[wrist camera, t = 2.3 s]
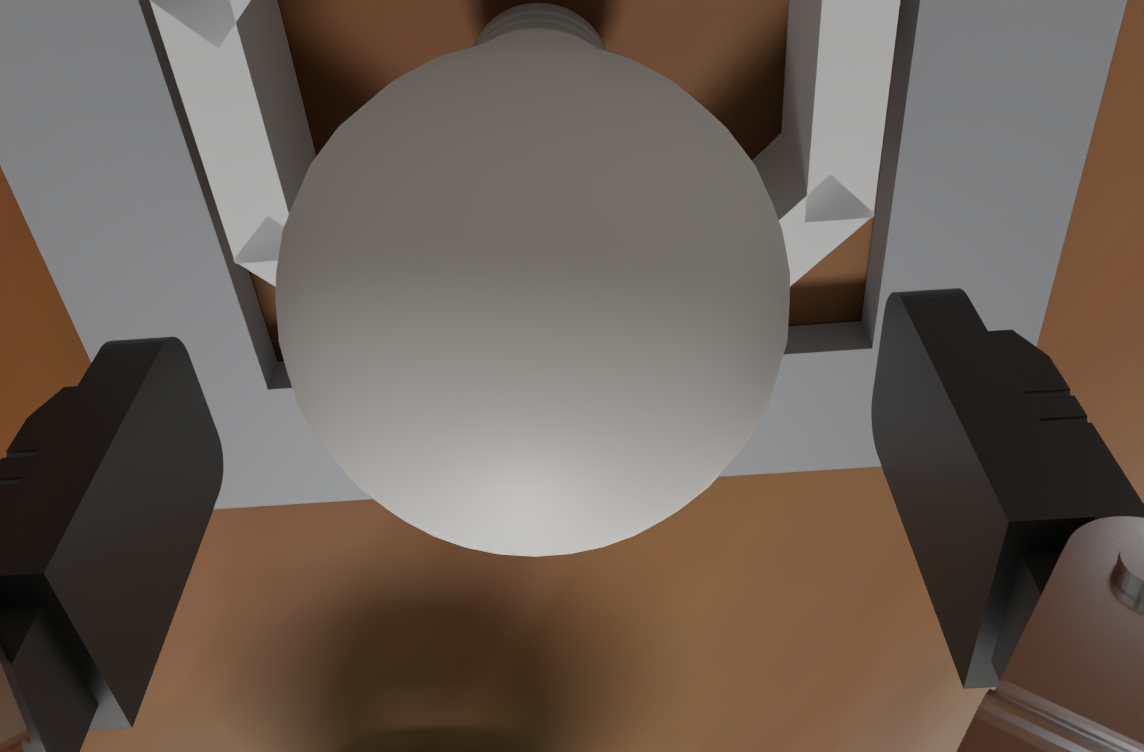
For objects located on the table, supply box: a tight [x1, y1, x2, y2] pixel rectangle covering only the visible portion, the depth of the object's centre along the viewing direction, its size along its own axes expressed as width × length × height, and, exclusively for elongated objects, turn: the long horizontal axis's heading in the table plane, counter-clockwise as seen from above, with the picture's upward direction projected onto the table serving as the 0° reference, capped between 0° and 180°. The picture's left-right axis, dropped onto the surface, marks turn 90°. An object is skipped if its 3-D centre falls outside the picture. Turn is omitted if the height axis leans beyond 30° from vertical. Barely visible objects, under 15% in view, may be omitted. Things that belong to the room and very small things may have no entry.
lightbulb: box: [276, 2, 790, 557], centre depth 14 cm, size 6×6×11 cm
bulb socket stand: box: [0, 0, 1127, 509], centre depth 18 cm, size 20×20×2 cm
